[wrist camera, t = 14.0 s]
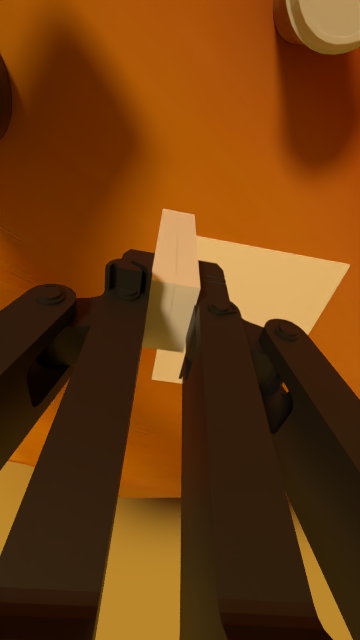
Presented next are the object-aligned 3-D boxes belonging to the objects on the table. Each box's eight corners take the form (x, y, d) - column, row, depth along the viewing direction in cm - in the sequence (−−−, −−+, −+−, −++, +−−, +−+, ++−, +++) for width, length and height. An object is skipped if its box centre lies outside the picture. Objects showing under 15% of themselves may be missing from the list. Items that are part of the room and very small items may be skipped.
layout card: (151, 378, 65) (151, 379, 65) (179, 232, 44) (179, 233, 44) (271, 393, 68) (271, 395, 68) (349, 264, 47) (350, 265, 47)
